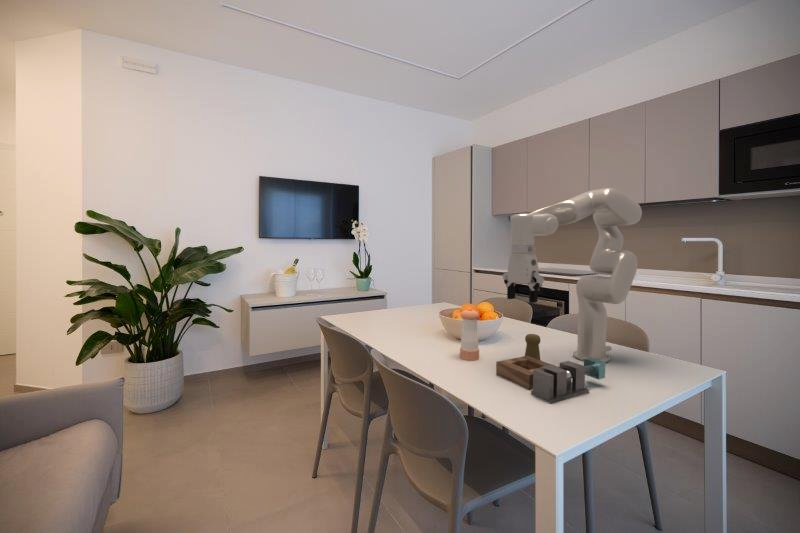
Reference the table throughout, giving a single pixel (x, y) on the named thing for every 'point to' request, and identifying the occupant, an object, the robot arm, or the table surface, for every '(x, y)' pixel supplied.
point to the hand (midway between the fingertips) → (521, 300)
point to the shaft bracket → (559, 382)
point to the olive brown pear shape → (532, 346)
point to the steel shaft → (592, 368)
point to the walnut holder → (519, 370)
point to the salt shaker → (469, 335)
